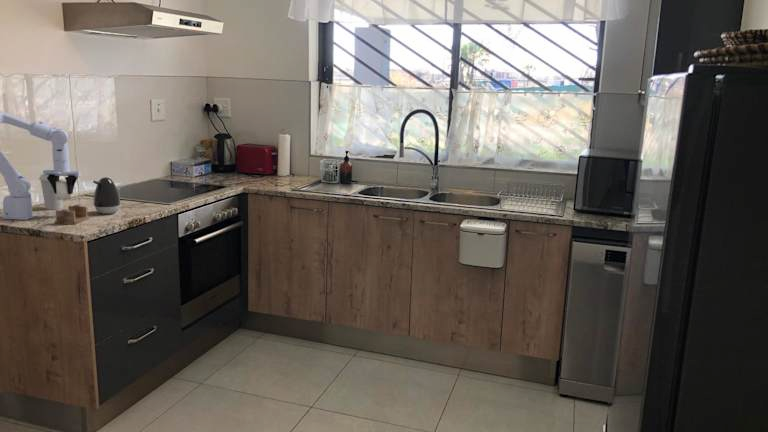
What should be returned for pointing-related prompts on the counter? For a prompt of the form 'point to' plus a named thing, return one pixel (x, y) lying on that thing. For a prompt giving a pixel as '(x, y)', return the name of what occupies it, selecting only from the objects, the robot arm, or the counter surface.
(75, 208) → the holder
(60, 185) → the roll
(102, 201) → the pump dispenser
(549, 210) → the counter surface
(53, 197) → the coffee cup
